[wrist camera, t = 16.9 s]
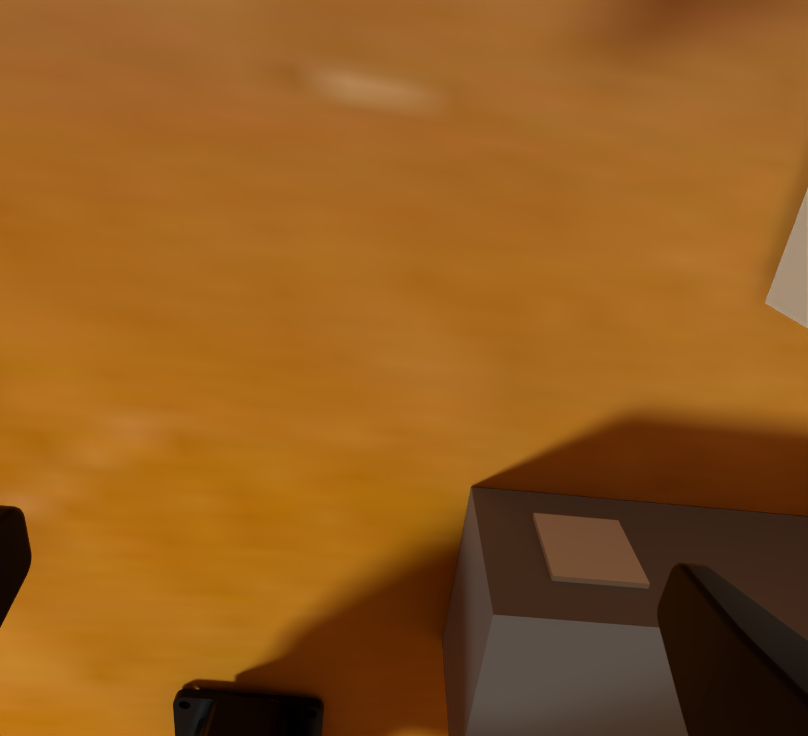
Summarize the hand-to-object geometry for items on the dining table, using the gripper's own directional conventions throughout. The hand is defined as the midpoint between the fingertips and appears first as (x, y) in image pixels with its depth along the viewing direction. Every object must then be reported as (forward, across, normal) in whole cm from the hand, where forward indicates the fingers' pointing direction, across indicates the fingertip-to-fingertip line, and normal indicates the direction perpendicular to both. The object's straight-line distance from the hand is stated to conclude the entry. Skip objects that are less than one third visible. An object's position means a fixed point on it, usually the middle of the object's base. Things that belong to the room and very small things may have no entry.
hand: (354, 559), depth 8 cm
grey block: (+12, -14, +11) cm, 21 cm away
